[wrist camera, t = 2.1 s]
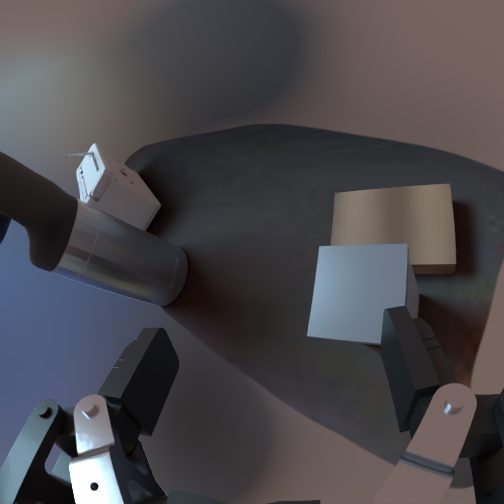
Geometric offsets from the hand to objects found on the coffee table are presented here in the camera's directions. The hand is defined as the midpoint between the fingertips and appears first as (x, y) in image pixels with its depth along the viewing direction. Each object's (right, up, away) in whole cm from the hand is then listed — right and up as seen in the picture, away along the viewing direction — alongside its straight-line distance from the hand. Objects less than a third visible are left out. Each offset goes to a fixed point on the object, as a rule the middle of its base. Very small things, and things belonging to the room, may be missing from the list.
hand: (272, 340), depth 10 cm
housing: (+11, -3, +13) cm, 17 cm away
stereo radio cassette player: (-23, +13, +46) cm, 53 cm away
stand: (+13, +4, +15) cm, 20 cm away
